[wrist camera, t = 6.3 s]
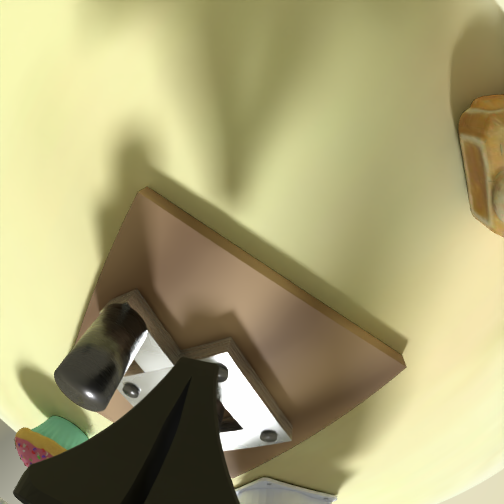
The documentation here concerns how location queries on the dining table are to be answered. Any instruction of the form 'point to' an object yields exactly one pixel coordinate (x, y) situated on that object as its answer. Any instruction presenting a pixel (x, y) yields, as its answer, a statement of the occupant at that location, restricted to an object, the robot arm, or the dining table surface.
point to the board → (241, 320)
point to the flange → (165, 372)
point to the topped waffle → (484, 159)
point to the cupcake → (47, 440)
